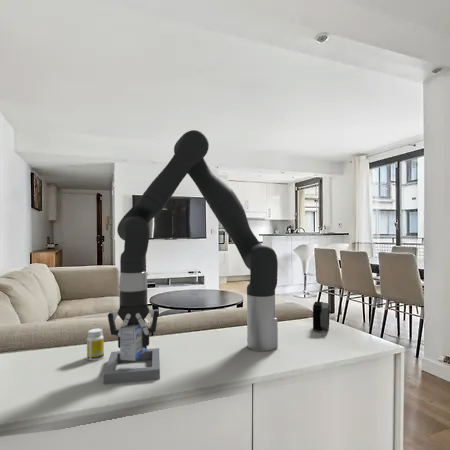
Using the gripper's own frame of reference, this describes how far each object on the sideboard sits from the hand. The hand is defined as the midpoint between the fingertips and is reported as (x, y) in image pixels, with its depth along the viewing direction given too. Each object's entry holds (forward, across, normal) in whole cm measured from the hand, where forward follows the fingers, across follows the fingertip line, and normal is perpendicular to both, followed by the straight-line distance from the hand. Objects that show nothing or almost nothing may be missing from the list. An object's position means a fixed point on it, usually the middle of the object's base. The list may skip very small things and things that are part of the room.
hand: (133, 347), depth 96 cm
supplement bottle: (+6, +12, -11) cm, 17 cm away
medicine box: (+2, 0, 0) cm, 2 cm away
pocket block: (+6, 0, 0) cm, 6 cm away
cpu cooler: (+6, -68, -22) cm, 72 cm away
